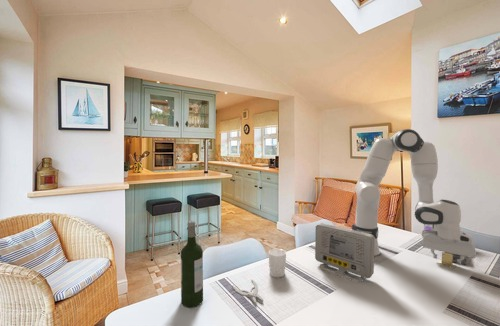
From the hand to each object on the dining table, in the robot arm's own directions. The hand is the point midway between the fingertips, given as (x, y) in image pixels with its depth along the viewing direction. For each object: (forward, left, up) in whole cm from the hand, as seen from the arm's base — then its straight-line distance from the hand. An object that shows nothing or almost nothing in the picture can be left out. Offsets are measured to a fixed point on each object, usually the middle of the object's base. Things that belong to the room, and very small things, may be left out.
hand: (446, 260), depth 116 cm
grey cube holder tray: (+3, +15, -2) cm, 15 cm away
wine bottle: (-72, -99, -2) cm, 122 cm away
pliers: (-59, -81, -2) cm, 100 cm away
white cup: (-59, -62, -2) cm, 86 cm away
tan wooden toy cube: (0, 0, -2) cm, 2 cm away
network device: (-37, -41, -2) cm, 55 cm away
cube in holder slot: (+3, +10, -2) cm, 11 cm away
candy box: (-5, +32, -2) cm, 32 cm away
